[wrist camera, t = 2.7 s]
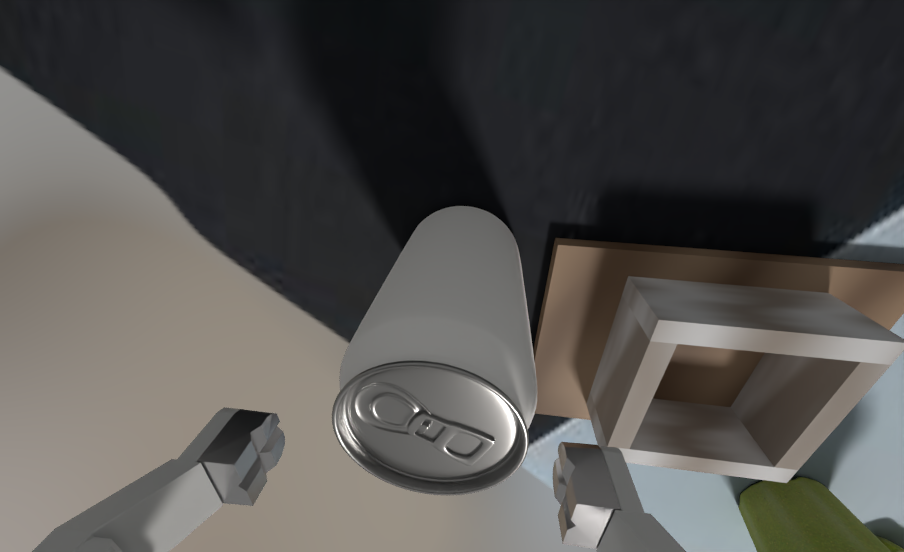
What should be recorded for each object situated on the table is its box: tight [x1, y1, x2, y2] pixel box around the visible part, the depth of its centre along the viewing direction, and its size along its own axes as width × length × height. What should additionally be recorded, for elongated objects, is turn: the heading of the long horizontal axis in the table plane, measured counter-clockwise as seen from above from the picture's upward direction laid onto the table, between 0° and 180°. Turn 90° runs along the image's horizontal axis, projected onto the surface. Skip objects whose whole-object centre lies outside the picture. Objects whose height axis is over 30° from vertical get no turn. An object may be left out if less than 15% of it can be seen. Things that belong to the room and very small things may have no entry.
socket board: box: [533, 238, 904, 483], centre depth 19 cm, size 18×13×6 cm
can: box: [332, 206, 537, 495], centre depth 15 cm, size 6×6×12 cm
